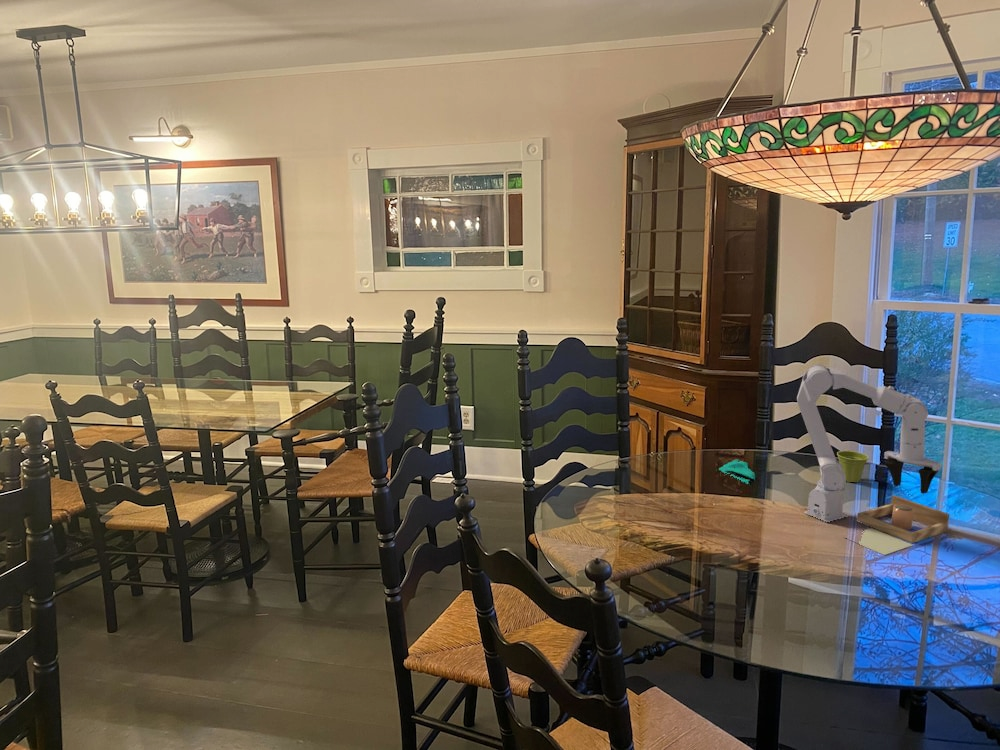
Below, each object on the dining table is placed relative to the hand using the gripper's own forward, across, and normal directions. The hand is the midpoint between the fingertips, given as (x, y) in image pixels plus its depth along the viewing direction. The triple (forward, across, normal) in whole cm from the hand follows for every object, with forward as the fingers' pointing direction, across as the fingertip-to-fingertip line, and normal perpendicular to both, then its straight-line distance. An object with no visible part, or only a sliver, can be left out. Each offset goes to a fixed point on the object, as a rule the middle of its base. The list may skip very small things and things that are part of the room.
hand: (910, 488), depth 193 cm
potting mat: (+10, -2, +18) cm, 20 cm away
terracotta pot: (+11, +1, +3) cm, 11 cm away
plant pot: (+10, +32, -19) cm, 38 cm away
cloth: (+8, +55, +7) cm, 56 cm away
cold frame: (+11, +1, +2) cm, 11 cm away
